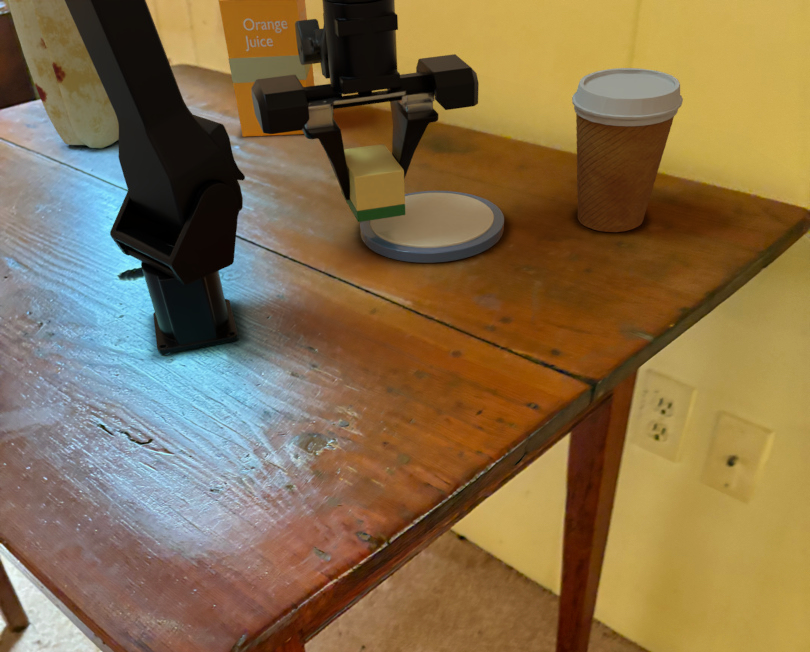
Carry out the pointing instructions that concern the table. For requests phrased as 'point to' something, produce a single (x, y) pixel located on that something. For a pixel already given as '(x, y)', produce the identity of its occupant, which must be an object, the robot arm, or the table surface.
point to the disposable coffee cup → (621, 143)
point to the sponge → (374, 183)
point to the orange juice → (262, 50)
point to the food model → (64, 73)
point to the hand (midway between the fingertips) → (372, 194)
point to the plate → (436, 228)
